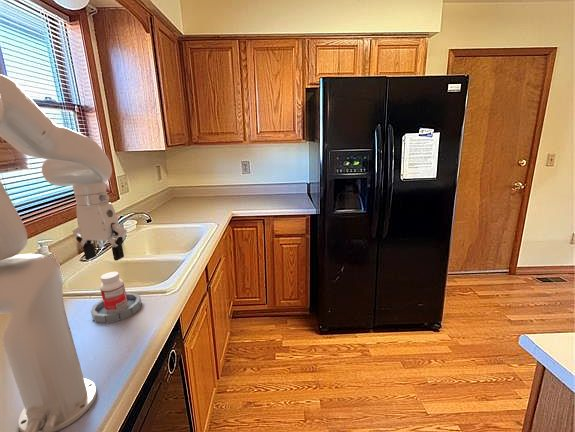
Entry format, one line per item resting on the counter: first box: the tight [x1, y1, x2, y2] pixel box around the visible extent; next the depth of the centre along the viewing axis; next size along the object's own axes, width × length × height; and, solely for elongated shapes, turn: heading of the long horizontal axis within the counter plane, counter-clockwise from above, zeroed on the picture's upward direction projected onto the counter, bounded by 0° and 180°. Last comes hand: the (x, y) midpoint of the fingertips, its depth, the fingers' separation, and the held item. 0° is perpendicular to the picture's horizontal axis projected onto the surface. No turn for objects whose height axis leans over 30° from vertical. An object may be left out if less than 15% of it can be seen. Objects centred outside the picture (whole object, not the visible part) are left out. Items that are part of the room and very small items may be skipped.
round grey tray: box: [90, 292, 142, 324], centre depth 97 cm, size 13×13×2 cm
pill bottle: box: [99, 271, 128, 313], centre depth 95 cm, size 6×6×11 cm
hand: (105, 258), depth 92 cm, fingers open, 9 cm apart
